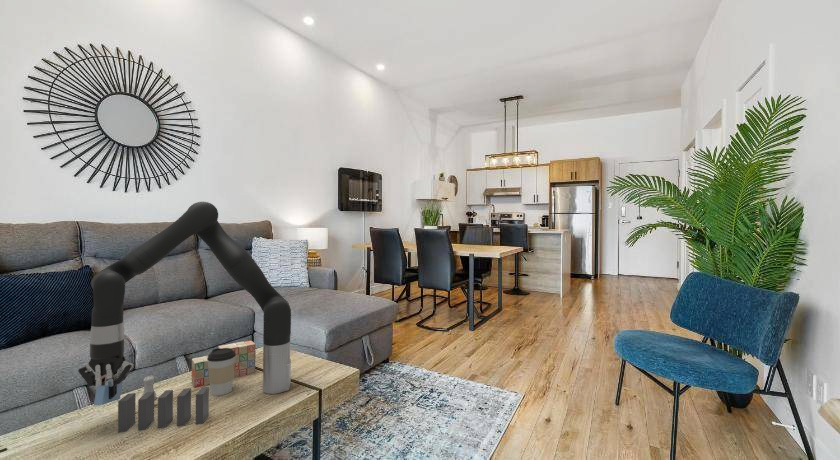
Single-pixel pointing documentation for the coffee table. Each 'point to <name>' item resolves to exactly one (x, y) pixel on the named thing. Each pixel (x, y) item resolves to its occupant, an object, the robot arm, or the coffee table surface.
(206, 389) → the domino
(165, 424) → the domino
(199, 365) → the stack of blocks
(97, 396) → the tile
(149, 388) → the rook chess piece
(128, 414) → the domino
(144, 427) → the domino
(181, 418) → the domino
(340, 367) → the coffee table surface
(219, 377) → the coffee cup
